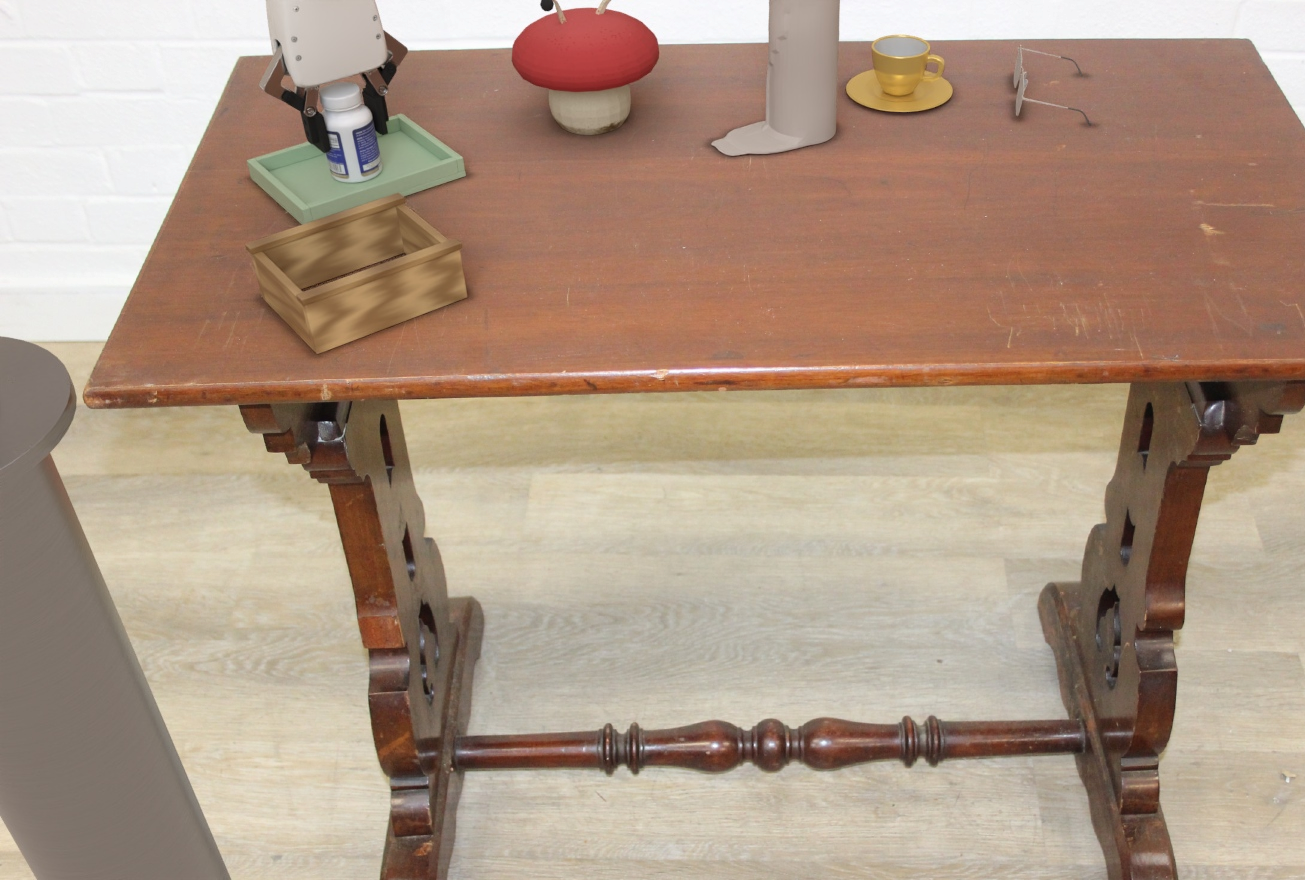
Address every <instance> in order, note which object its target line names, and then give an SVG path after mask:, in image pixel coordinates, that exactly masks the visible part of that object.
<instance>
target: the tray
mask: <svg viewBox="0 0 1305 880" xmlns="http://www.w3.org/2000/svg"><path fill="white" fill-rule="evenodd" d="M386 124H387V130H388V134H385V135H382V134H379V133H378V132H376V136H377V141H378V146H379V151H380V155H381V160H382V166H383V168H382V171H381V173H380V174H379V175H377V176H376V177H374V178H372V179H370V180H367V181H364V182H358V183H345V182H340V181H338V180H336V179H334V178H333V177H332V175H331V172H330V169H329V164H328V160H327V156H326V153H323V152H322V151H321V150H319V149H318V148H317V147H316V146H314V145H313V144H310V143H309V142H308V141H305V142H303V143H302V142H301V143H299V144H294V145H292V146H288V147H285V148H282V149H279V150H276V151H272V152H269V153H266V154H262V155H259V156H255V157H253V158H249V159H246V164H247V168H248V172H249V175H250V179H251V180H252V181H253V182H254V183H255V184H257V186H259V188H261V189H262V190H263V191H264V192H265V193H266V194H267V195H268V196H269V197H270V198H272V199H273V200H274V201H275V202H276V203H277V204H279V206H280V207H281V208H283V209H284V211H286V212H287V213H288V214H289V215H290V216H292V217H293V219H295V220H296V221H297V222H298V223H299V224H300V225H303V224H306V223H309V222H312V221H315V220H318V219H321V218H324V217H327V216H330V215H333V214H336V213H339V212H342V211H345V210H348V209H351V208H354V207H357V206H360V205H363V204H366V203H369V202H372V201H375V200H378V199H381V198H384V197H387V196H390V195H393V194H396V193H400V194H401V195H402V196H404V197H407V196H410V195H413V194H416V193H419V192H422V191H425V190H429V189H431V188H434V187H438V186H440V185H443V184H446V183H449V182H453V181H455V180H458V179H461V178H464V177H466V176H467V172H466V167H465V162H464V157H463V156H461V155H460V154H459V153H457V152H456V151H455V150H453V149H452V148H451V147H449V146H448V145H447V144H445V142H443V141H441V140H440V139H438V138H436V136H434V135H433V134H431V133H430V132H429V131H427V130H425V129H424V128H423V127H421V125H419V124H417V123H416V122H415V121H413V120H412V119H411V118H409V117H407V115H405V114H404V113H397V114H395V115H394V114H393V115H391V116H389V121H387V122H386Z"/></svg>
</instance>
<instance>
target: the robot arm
mask: <svg viewBox="0 0 1305 880" xmlns="http://www.w3.org/2000/svg"><path fill="white" fill-rule="evenodd" d="M265 9H266V18H267V26H268V33H269V40H270V46H271V51H272V58H271V59H270V62H269V63H268V65H267V67H266V69H265V71H264V72H263V75H262V77H261V79H260V81H259V83H258V86H259V88H260V89H261V90H262V91H263V92H265V93H266V94H267V95H269V96H271V97H274V99H277V100H279V101H282V102H284V103H285V104H287V105H288V106H290V107H291V108H293V109H295V110H297V111H299V112H300V117H301V121H302V126H303V130H304V135H305V139H306V140H307V142H309V143H310V144H313V145H314V146H316V147H317V148H318V149H319V150H321V151H322V152H323V153H327V152H329V150H331V148H330V144H329V139H328V135H327V130H326V125H325V121H324V117H323V115H322V114H321V112H320V111H319V110H318V103H319V102H318V101H319V91H320V86H321V85H325V84H326V85H327V84H329V83H334V82H336V81H340V80H344V79H346V78H350V77H351V78H352V77H355V76H357V75H360V77H361V79H362V81H363V82H364V84H365V85H364V87H363V88H362V91H361V97H362V102H363V105H365V106H367V107H368V108H369V109H370V111H371V113H372V117H373V121H374V126H375V131H376V132H378V133H379V134H382V135H385V134H388V130H387V124H386V122H387V121H389V117H390V116H389V112H388V107H387V101H386V95H387V94H388V93H389V85H390V84H391V82H392V80H393V78H394V77H395V75H396V73H397V71H398V67H400V65H401V64H402V62H403V61H404V59H405V57H406V56H407V55H408V53H409V48H408V47H407V45H406V46H405V45H404V44H403V43H402V42H400V40H398V39H397V38H396V37H394V36H393V35H392V34H390V33H389V32H388V31H386V30H385V29H384V28H383V23H382V19H381V16H380V12H379V8H378V6H377V1H376V0H265ZM285 76H286V77H287V76H288V77H291V79H292V82H293V84H294V89H293V90H294V91H293V90H291V89H290V88H288V87H286V86H283V85H282V80H283V79H284V77H285Z"/></svg>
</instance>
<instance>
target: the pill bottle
mask: <svg viewBox="0 0 1305 880" xmlns="http://www.w3.org/2000/svg"><path fill="white" fill-rule="evenodd" d="M318 98H319V101H320V106H321V108H322V109H323V110H322V111H321V112H320V113H321V114H322V115H323V117H324V121H325V125H326V130H327V135H328V139H329V144H330V148H331V150H329V152H327V153H326V156H327V160H328V164H329V169H330V172H331V175H332V177H333V178H334V179H336V180H338V181H340V182H345V183H358V182H364V181H367V180H370V179H372V178H374V177H376V176H377V175H379V174H380V173H381V171H382V168H383V166H382V160H381V155H380V151H379V146H378V141H377V136H376V131H375V126H374V121H373V117H372V113H371V111H370V109H369V108H368V107H367V106H365V105H364V103H363V96H362V91H361V88H360V86H359V85H358V84H356V83H354V82H349V81H340V82H339V81H338V82H332V83H330V84H329V83H328V84H326V85H325V86H322V87H321V88H319V94H318Z"/></svg>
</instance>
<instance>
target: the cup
mask: <svg viewBox="0 0 1305 880" xmlns="http://www.w3.org/2000/svg"><path fill="white" fill-rule="evenodd" d="M870 48H871V58H872V59H871V61H872V67H873V69H870V70H866V71H863V72H860V73H858V74H856V75H855V76H853V77H852V78H851V79H850V80H849V81H848V82H847V83H846V87H845V89H846V90H845V91H846V93H847V95H848V96H849V97H850V98H851V99H852V100H853V101H854V102H856V103H858V104H860V105H862V106H864V107H867V108H871V109H874V110H879V111H885V112H897V113H899V112H900V113H907V112H908V113H909V112H910V113H911V112H919V111H926V110H929V109H933V108H935V107H939V106H940V105H943V104H944V103H946V102H947V101H948V100H950V98H951V97H952V95H953V94H954V93H953V92H954V90H953V86H952V84H951V83H950V82H949V81H948V80H947V79H945V78H944V77H943V74H944V71H945V69H946V63H945V59H944V58H943V57H942V56H940V55H937V54H930V51H931V45H930V43H929V42H928V41H927V40H925V39H923V38H922V37H918V36H914V35H910V34H891V35H885V36H882V37H879V38H876V39H875V40H874V41H873V42H872V43H871V47H870ZM929 63H935V64H937V67H938V68H937V71H936V72H935V73H934V72H931V71H928V70H927V66H928V64H929Z"/></svg>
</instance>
